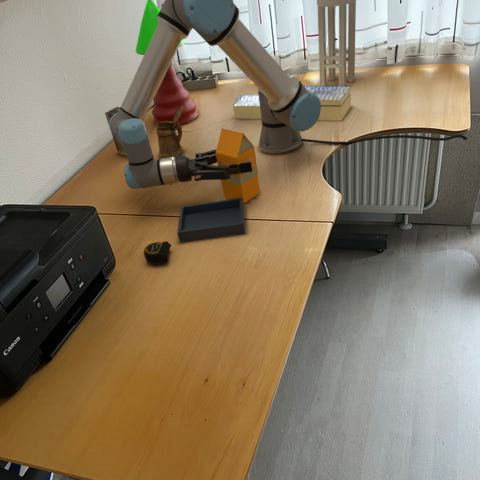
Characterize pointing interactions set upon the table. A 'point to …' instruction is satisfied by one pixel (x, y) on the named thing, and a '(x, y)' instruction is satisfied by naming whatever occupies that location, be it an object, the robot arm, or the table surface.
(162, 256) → the tape measure
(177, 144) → the wooden mug
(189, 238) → the tray
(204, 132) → the table surface
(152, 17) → the table lamp
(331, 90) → the pale yellow long box
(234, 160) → the orange juice
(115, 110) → the coffee box
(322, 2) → the stool
